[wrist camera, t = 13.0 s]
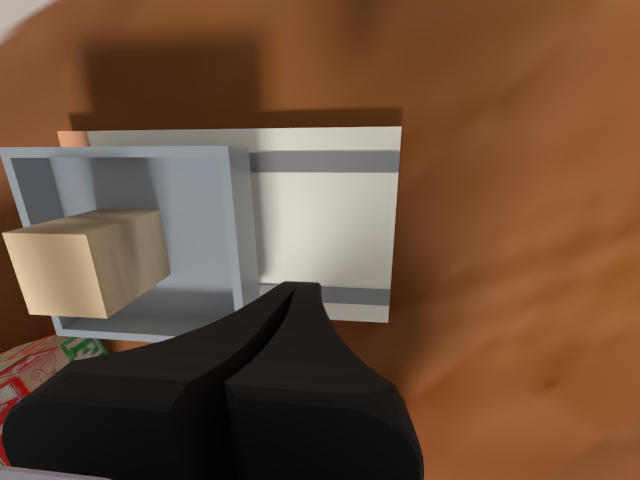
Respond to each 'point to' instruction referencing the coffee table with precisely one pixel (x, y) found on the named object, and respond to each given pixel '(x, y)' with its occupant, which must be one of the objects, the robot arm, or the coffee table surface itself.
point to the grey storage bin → (177, 220)
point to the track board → (308, 205)
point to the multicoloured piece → (38, 368)
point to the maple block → (89, 261)
